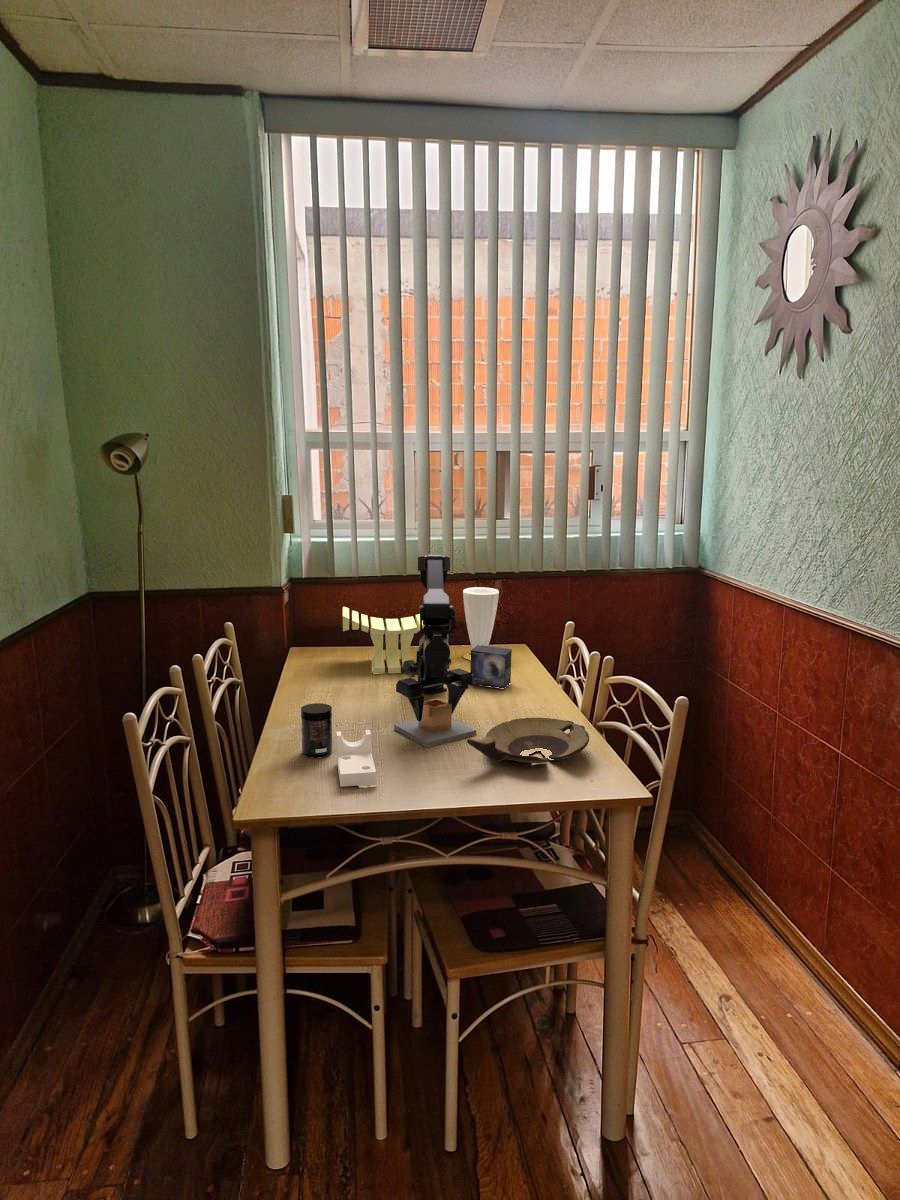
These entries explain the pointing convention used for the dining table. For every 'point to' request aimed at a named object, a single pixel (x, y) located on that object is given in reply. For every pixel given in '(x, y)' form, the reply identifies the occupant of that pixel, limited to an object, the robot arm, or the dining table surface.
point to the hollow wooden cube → (436, 715)
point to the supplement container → (316, 730)
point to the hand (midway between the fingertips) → (434, 717)
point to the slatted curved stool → (386, 638)
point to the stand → (435, 738)
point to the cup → (480, 613)
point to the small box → (491, 666)
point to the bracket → (355, 761)
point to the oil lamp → (532, 739)
